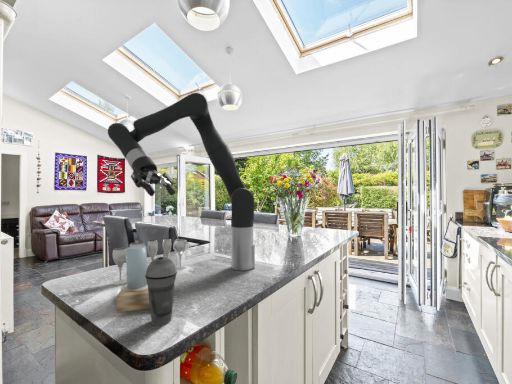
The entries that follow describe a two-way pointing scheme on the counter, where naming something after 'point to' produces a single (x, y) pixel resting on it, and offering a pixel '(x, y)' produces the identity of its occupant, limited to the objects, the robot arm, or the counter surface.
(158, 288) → the beverage cup
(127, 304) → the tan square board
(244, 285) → the counter surface
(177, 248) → the goblet set
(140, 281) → the pale blue domed cylinder
